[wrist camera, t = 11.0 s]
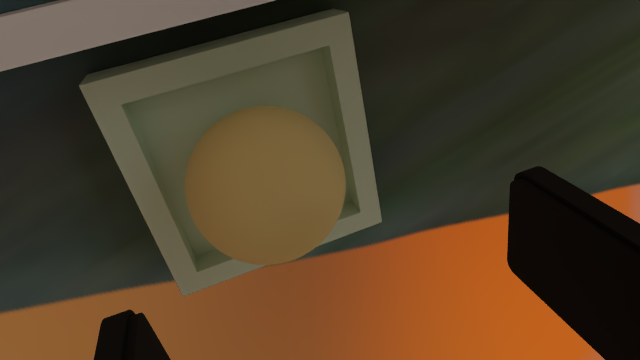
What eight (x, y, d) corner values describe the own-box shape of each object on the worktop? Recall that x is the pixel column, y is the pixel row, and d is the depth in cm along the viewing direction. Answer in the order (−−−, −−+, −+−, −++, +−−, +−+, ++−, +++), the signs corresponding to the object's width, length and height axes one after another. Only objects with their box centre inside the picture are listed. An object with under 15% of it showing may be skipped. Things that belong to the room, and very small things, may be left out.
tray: (332, 8, 18) (348, 12, 16) (367, 205, 23) (382, 221, 21) (86, 74, 16) (78, 85, 15) (181, 272, 21) (182, 296, 20)
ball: (303, 70, 18) (356, 112, 13) (330, 190, 21) (381, 263, 16) (160, 111, 17) (156, 176, 12) (209, 231, 20) (223, 323, 15)
